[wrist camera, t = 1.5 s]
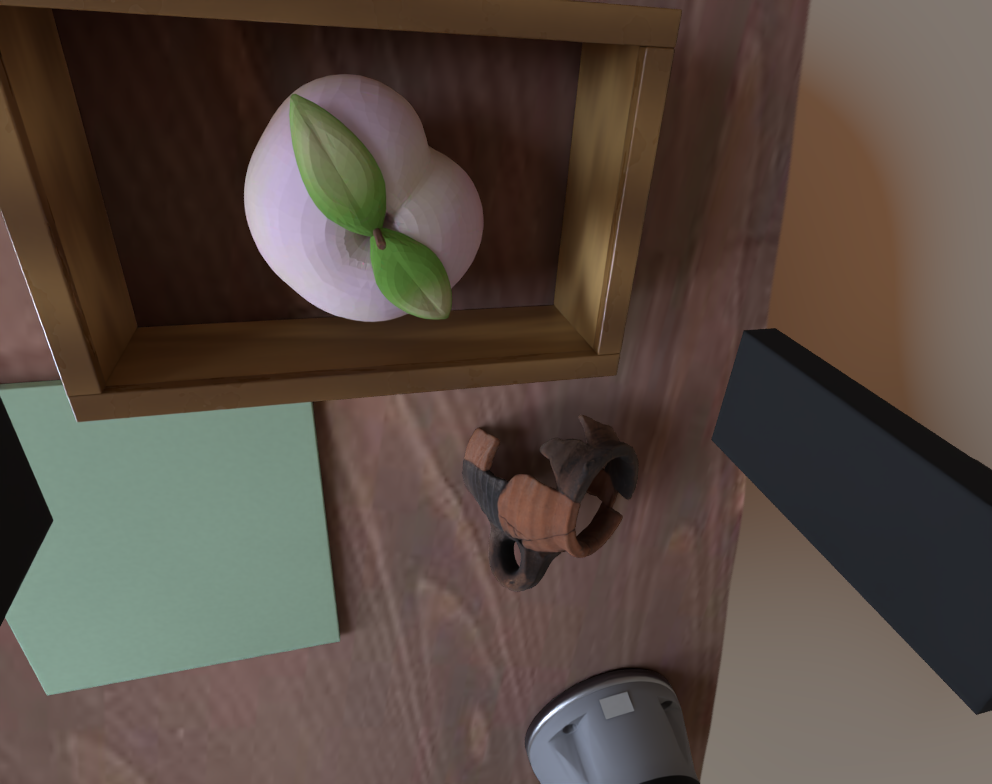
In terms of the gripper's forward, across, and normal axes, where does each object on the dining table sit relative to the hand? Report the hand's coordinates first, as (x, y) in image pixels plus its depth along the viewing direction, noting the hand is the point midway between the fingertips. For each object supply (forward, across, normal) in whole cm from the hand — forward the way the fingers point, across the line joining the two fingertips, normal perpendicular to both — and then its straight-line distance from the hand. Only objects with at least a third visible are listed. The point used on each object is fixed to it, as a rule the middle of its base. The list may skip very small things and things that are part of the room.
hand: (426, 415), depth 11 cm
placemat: (+20, +12, +20) cm, 31 cm away
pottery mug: (+20, -10, +18) cm, 29 cm away
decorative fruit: (+20, 0, 0) cm, 20 cm away
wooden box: (+20, 0, 0) cm, 20 cm away
